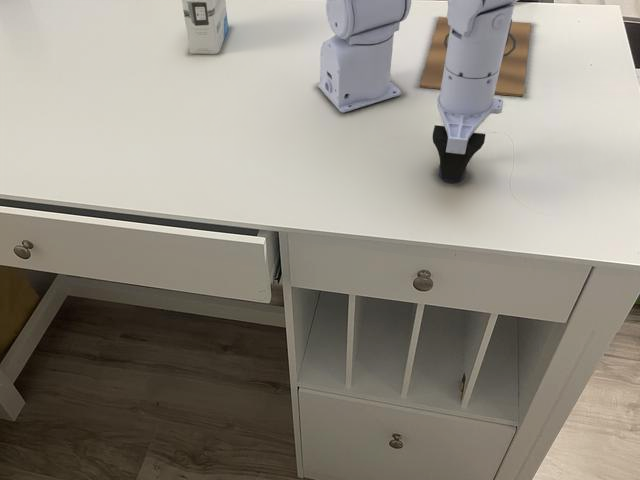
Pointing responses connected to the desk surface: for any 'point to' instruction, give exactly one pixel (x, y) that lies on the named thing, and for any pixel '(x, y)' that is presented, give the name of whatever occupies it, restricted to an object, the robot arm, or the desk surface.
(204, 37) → the ink box
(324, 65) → the robot arm
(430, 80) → the sheet
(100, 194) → the desk surface
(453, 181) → the dot
